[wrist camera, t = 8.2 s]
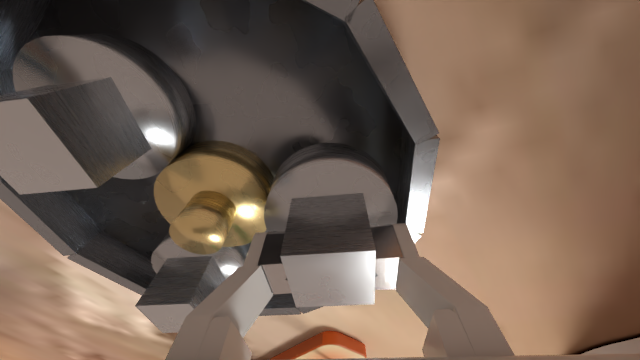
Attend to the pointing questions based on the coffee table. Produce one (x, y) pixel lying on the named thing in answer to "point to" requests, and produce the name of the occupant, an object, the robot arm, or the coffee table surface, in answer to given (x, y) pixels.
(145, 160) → the carrier
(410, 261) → the robot arm
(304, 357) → the crank mechanism
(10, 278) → the coffee table surface
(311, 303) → the gear
